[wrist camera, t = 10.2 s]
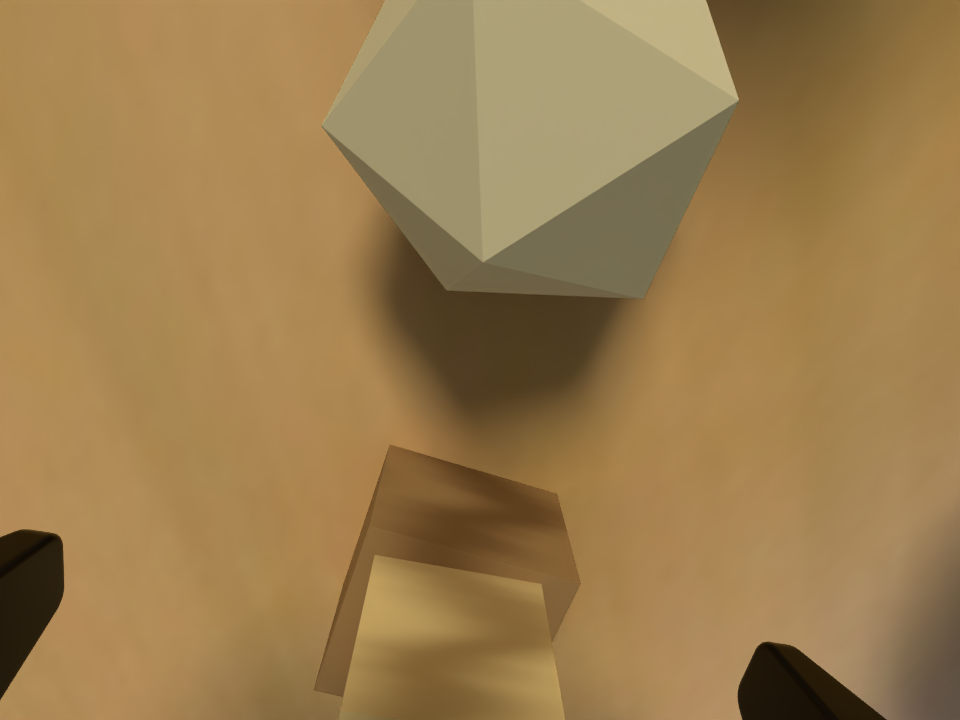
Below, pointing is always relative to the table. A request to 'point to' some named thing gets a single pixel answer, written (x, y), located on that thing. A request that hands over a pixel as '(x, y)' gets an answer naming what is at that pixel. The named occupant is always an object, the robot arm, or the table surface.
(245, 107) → the table surface
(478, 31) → the beige icosahedron
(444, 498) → the walnut block
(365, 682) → the oak block
